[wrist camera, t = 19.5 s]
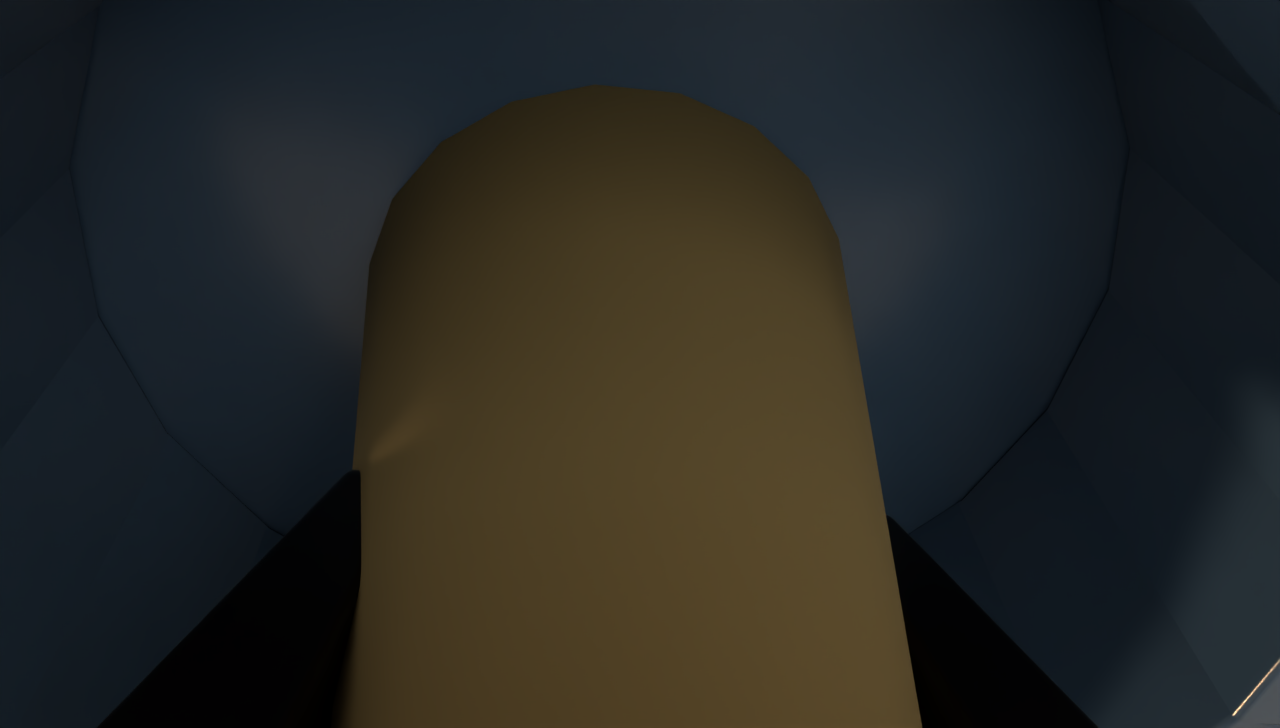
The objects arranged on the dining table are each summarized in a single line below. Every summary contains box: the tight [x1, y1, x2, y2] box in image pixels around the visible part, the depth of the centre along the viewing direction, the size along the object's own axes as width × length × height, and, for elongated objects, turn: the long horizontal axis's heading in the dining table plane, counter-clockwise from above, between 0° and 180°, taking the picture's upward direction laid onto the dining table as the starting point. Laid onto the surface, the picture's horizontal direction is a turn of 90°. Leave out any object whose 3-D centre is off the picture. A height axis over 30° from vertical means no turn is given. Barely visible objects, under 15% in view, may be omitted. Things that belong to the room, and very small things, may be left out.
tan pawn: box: [331, 84, 922, 728], centre depth 8 cm, size 6×6×11 cm
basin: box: [0, 0, 1280, 728], centre depth 11 cm, size 14×14×5 cm
